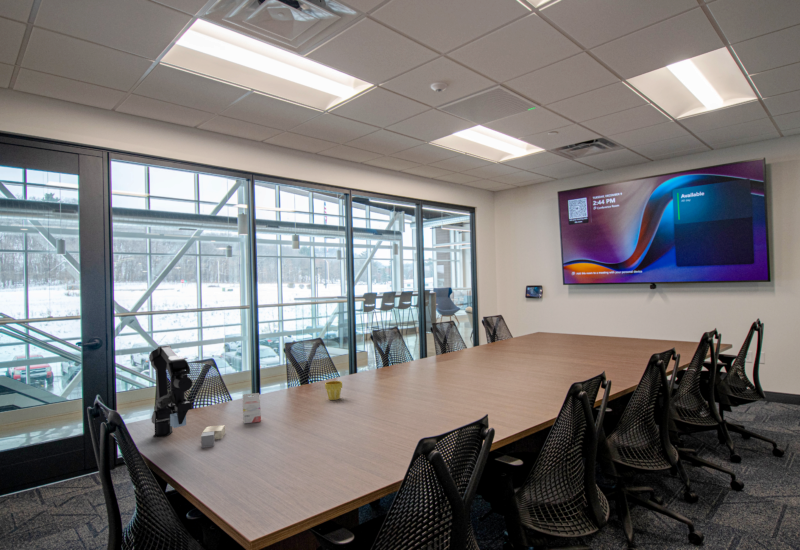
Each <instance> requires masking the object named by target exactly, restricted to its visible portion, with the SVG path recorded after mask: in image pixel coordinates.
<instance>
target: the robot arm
mask: <svg viewBox="0 0 800 550" xmlns="http://www.w3.org/2000/svg"><path fill="white" fill-rule="evenodd" d="M148 357H149V358H148V359H149V362H150V365H151V367H152V368H153V369H154V370H155V383H156V395H157V396H156V397H157V399H155V405H154V407H153V409H154V410H153V412H152V415H151V418H150V420H151V423H152V424H154V434H153V435H152V436H153V437H167V436H169V435H170V434H172V433H173V432H174V430H173V427H172V426H170V414H174V413H177V417H178V422H179V424H182V422H183V420H184V418H185V416H186V417H187V413H188V412H189V410H193V403H192V402H190V401H188V400H187V398H186V392H187V391H188V390H190V389H191V388H192V386H193V380H192V379H191V378H190V377H188V375H190V374H191V368H190V364H189V363H188V361H187V360H186V358H184V357H183V356H180V355H179V356H178V355H177V354H176V352H175V351H174V350H173V349H172V346H171V345H170V344H169V345H168V344H166V345H160V346H158V347H157V348H156V349H154V350H152V351H151V352H150V353H149V356H148ZM167 373H168V375H167ZM168 376H169V382H170V383H169V384H170V387H169V388H170V389H168Z"/></svg>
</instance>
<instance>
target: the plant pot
mask: <svg viewBox="0 0 800 550" xmlns="http://www.w3.org/2000/svg"><path fill="white" fill-rule="evenodd" d="M324 389H325V390H326V393H327V394H326V395H327V398H328V400H331V401H336V400H339V399H340V398H341V392H342V389H343V382H342V381H341V380H331V381H327V382H325V383H324Z"/></svg>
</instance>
